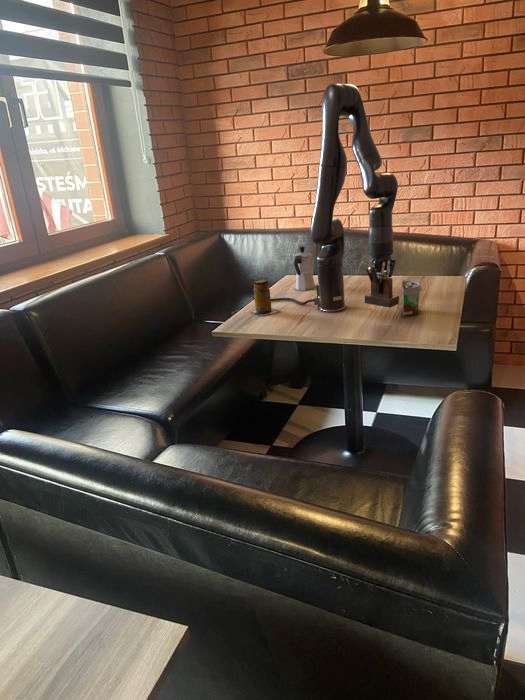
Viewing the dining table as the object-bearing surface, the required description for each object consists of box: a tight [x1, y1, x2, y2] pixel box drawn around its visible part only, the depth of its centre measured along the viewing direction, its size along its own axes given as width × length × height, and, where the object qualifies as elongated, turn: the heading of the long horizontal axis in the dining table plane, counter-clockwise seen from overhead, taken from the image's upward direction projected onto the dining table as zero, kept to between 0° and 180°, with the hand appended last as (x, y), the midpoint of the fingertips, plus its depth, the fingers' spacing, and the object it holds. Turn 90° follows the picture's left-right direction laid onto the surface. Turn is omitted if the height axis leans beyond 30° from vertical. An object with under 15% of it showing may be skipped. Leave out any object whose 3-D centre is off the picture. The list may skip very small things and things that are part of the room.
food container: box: [401, 280, 422, 318], centre depth 183 cm, size 12×6×10 cm, turn 168°
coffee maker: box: [292, 245, 316, 291], centre depth 228 cm, size 15×9×18 cm, turn 154°
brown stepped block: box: [364, 276, 400, 308], centre depth 175 cm, size 10×5×9 cm, turn 44°
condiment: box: [250, 279, 279, 316], centre depth 202 cm, size 7×8×12 cm
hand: (381, 292), depth 176 cm, fingers closed on brown stepped block
